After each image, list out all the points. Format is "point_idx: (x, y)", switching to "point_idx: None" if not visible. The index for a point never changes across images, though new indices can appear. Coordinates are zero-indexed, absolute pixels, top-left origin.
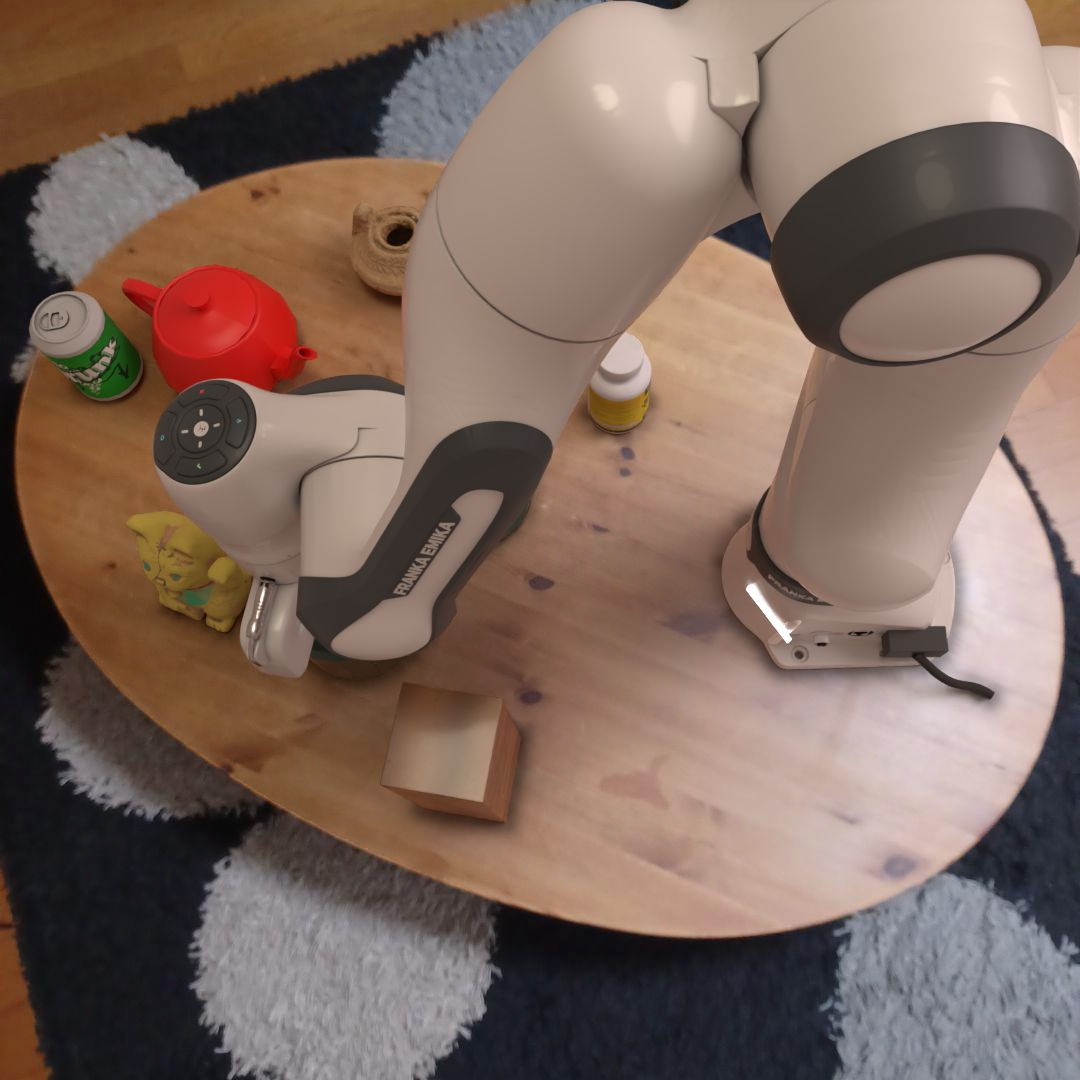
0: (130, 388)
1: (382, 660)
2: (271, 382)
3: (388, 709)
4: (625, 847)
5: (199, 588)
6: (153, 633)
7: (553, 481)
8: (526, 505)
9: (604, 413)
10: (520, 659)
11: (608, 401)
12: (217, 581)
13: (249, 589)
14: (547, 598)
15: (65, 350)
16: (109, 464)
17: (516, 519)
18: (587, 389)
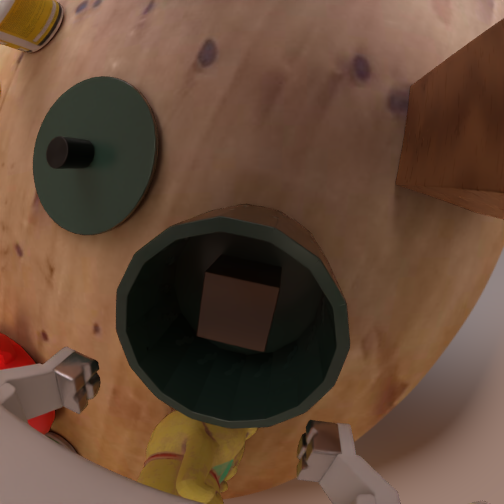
0: (63, 445)
1: (327, 263)
2: (18, 362)
3: (371, 252)
4: (488, 23)
5: (216, 475)
6: (254, 464)
7: (91, 62)
8: (108, 78)
9: (32, 17)
10: (312, 75)
11: (15, 5)
12: (211, 499)
13: None
14: (228, 44)
15: None
16: (118, 465)
17: (122, 86)
18: (10, 41)
